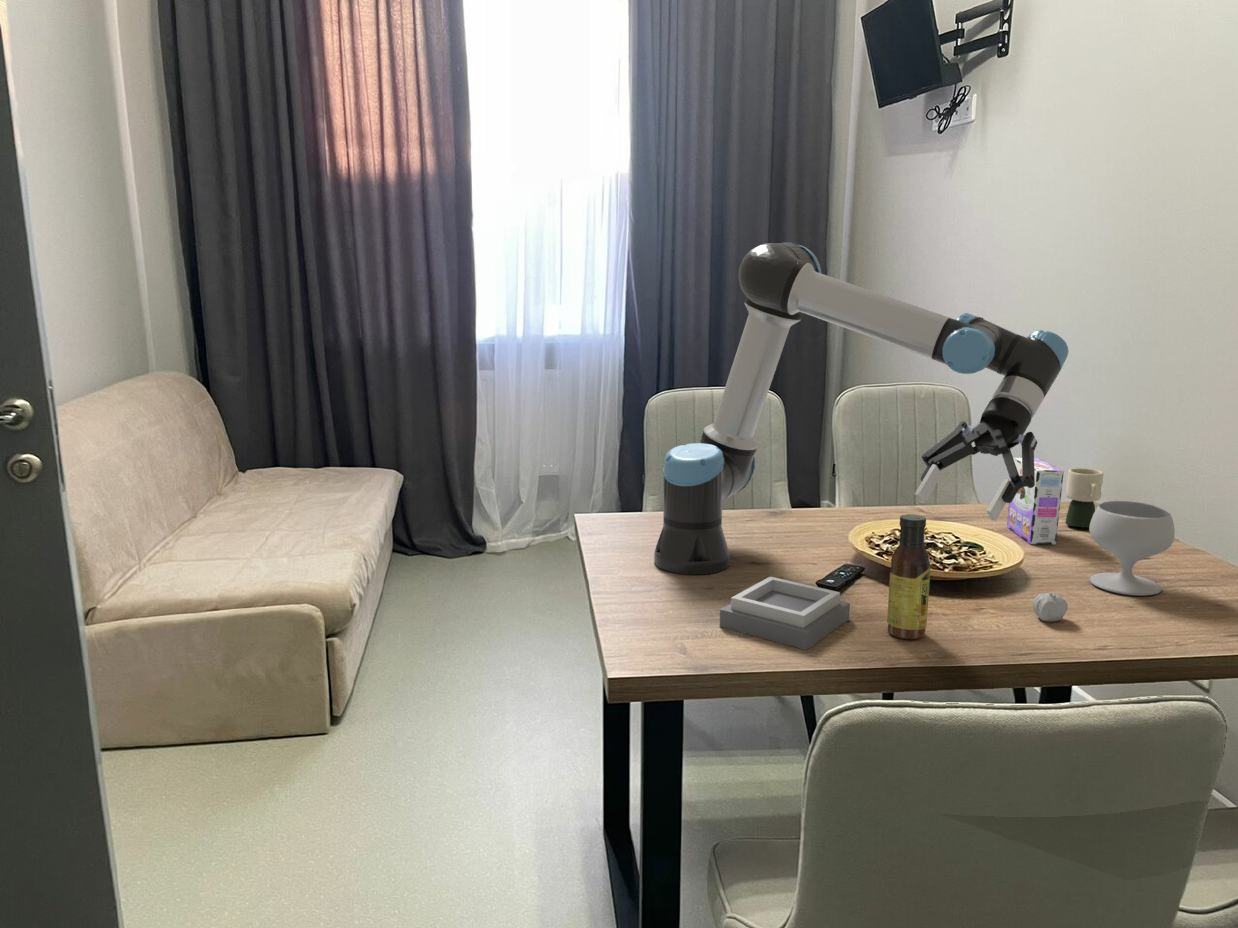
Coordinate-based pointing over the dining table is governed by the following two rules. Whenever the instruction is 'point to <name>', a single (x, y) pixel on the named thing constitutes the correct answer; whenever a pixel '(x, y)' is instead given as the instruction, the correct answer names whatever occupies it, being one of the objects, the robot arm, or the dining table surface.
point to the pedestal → (786, 612)
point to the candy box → (1037, 505)
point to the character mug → (1082, 495)
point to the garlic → (1049, 606)
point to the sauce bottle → (909, 581)
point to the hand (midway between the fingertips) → (953, 507)
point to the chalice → (1130, 542)
